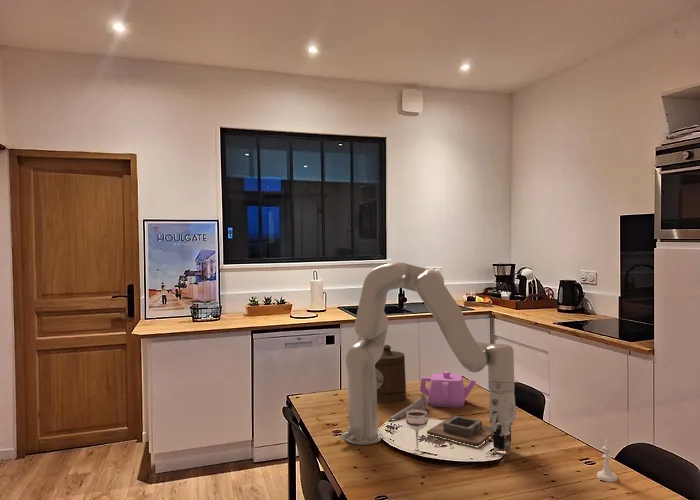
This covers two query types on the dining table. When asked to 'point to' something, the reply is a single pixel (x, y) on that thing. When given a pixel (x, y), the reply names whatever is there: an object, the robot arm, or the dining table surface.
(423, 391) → the teakettle
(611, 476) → the chess piece
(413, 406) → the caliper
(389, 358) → the wooden container
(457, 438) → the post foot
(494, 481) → the dining table surface
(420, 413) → the wineglass
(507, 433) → the pill bottle
